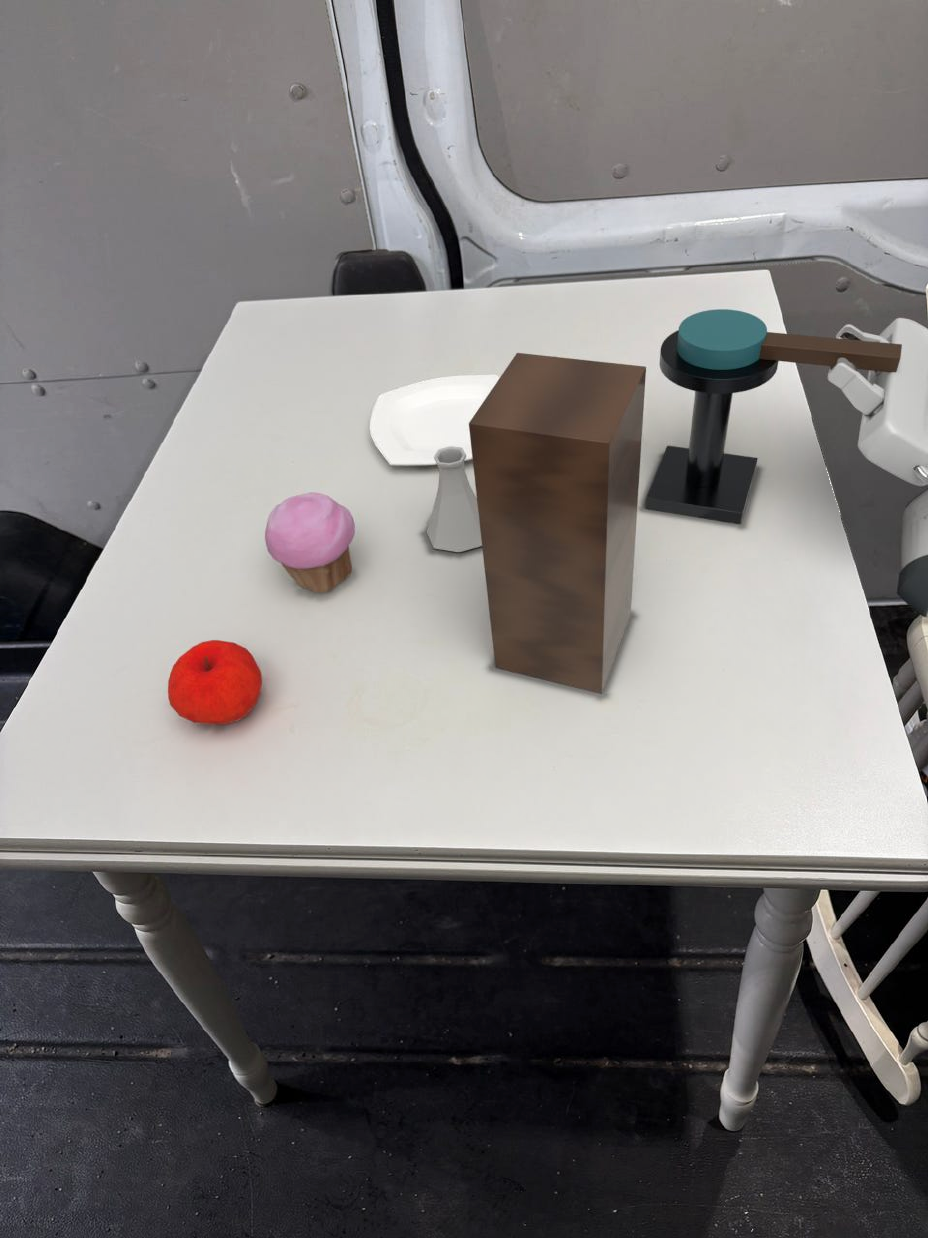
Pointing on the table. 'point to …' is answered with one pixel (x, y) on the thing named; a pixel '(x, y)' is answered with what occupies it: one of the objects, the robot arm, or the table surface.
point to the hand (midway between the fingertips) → (836, 349)
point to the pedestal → (559, 513)
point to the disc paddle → (771, 344)
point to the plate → (428, 417)
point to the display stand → (706, 442)
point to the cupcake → (311, 540)
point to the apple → (214, 683)
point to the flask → (454, 505)
